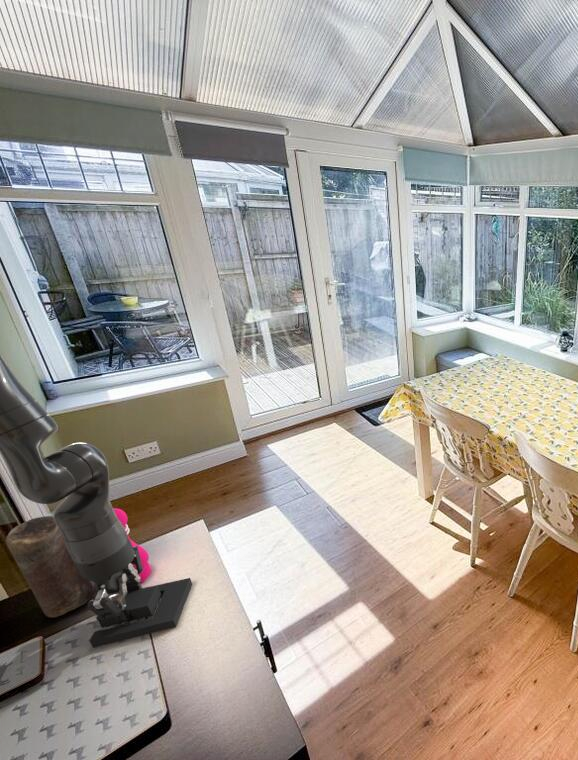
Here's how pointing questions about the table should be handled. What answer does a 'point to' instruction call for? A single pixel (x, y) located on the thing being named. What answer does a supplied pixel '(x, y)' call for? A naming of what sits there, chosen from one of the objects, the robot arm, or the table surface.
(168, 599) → the black u-shaped piece
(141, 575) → the pepper mill
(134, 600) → the black block
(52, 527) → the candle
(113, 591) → the robot arm
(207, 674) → the table surface
